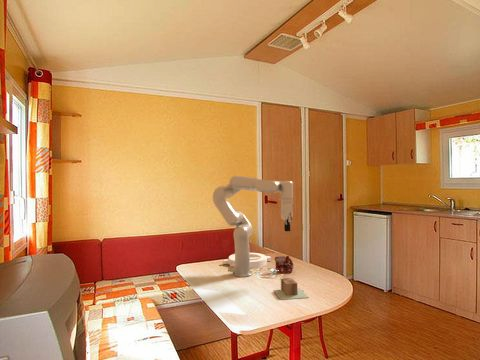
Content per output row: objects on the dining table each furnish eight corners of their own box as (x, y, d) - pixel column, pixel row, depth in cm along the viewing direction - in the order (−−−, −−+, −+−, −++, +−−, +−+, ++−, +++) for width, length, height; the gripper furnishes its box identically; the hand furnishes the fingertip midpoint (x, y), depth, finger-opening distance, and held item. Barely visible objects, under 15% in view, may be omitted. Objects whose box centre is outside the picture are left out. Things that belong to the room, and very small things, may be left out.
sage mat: (280, 299, 148) (280, 299, 148) (273, 290, 161) (273, 290, 161) (308, 297, 150) (308, 297, 150) (299, 288, 163) (299, 288, 163)
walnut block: (280, 288, 163) (286, 295, 153) (280, 277, 163) (286, 283, 153) (291, 288, 164) (297, 294, 154) (291, 277, 164) (297, 283, 154)
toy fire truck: (295, 272, 193) (295, 256, 193) (277, 274, 190) (276, 257, 191) (291, 269, 200) (291, 254, 200) (273, 271, 197) (273, 255, 197)
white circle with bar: (273, 261, 223) (272, 255, 223) (255, 271, 198) (255, 264, 199) (240, 257, 237) (240, 251, 237) (221, 265, 213) (221, 259, 213)
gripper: (277, 200, 188) (278, 229, 188) (284, 202, 173) (285, 233, 173) (289, 200, 189) (289, 229, 189) (297, 201, 175) (297, 232, 174)
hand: (287, 231), depth 181 cm, fingers closed
